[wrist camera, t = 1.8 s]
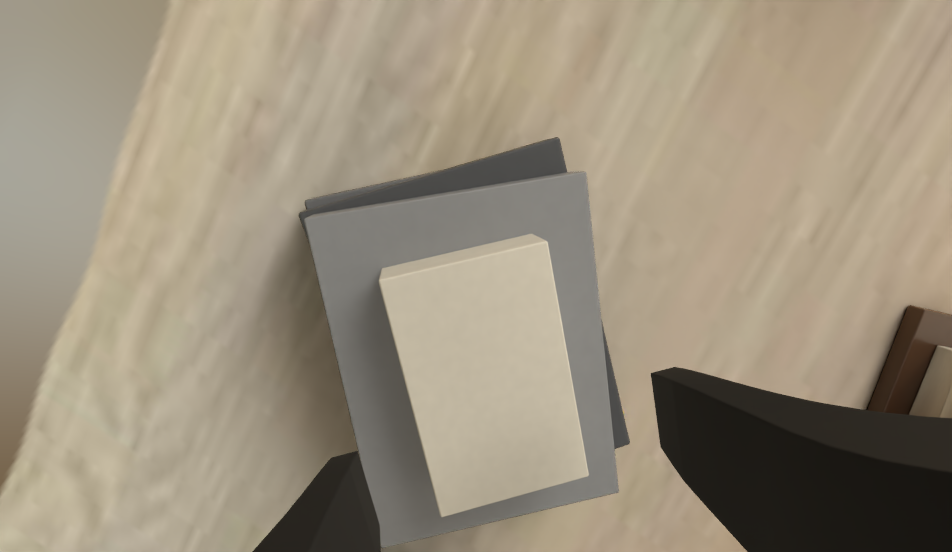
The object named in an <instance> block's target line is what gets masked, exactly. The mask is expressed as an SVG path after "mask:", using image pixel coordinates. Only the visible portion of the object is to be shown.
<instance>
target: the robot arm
mask: <svg viewBox="0 0 952 552" xmlns="http://www.w3.org/2000/svg"><path fill="white" fill-rule="evenodd" d="M651 378H652V386H653V393H654V400H655V408H656V415H657V423H658V430H659V438H660V445H661V448H662V450H663V451H664V453H665V454H666V456H667V457H668V459H669V460H670V462H671V463H672V465H673V466H674V468H675V469H676V470H677V472H678V473H679V475H680V476H681V477H682V479H683V480H684V482H685V483H686V484H687V485H688V486H689V487H690V488H691V490H692V491H693V492H694V493H695V494H696V495H697V496H698V497H699V499H700V500H701V501H702V502H703V503H704V504H705V505H706V506H707V508H708V509H709V510H710V511H711V512H712V513H713V514H714V515H715V516H716V517H717V519H718V520H719V521H720V522H721V523H722V524H723V525H724V526H725V527H726V528H727V530H728V531H729V532H730V533H731V534H732V535H733V536H734V537H735V538H736V539H737V541H738V542H739V543H740V544H741V545H742V546H743V547H744V548H745V549H746V550H747V552H952V418H940V417H925V416H915V415H905V414H894V413H884V412H876V411H868V410H861V409H855V408H848V407H842V406H836V405H830V404H824V403H819V402H814V401H809V400H804V399H800V398H795V397H791V396H786V395H782V394H777V393H773V392H769V391H765V390H762V389H758V388H754V387H750V386H747V385H743V384H739V383H736V382H732V381H728V380H725V379H721V378H718V377H714V376H711V375H707V374H703V373H699V372H696V371H692V370H687V369H683V368H677V367H673V368H669V369H665V370H662V371H658V372H654V373H651ZM253 552H381V546H380V524H379V521H378V517H377V514H376V511H375V507H374V504H373V501H372V497H371V494H370V491H369V487H368V484H367V481H366V477H365V474H364V471H363V467H362V464H361V461H360V457H359V454H358V451H355V452H352V453H348V454H344V455H340V456H337V457H333V458H331V459H330V460H329V461H328V462H327V463H326V464H325V466H324V467H323V468H322V469H321V471H320V472H319V473H318V474H317V476H316V477H315V478H314V479H313V481H312V482H311V483H310V485H309V486H308V487H307V488H306V490H305V491H304V492H303V493H302V495H301V496H300V497H299V498H298V500H297V501H296V502H295V503H294V505H293V506H292V507H291V508H290V510H289V511H288V512H287V513H286V514H285V516H284V517H283V518H282V519H281V520H280V521H279V522H278V524H277V525H276V526H275V527H274V528H273V529H272V530H271V531H270V533H269V534H268V535H267V536H266V537H265V538H264V539H263V541H262V542H261V543H260V544H259V545H258V546H257V547H256V548H255V550H254V551H253Z"/></svg>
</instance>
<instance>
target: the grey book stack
mask: <svg viewBox="0 0 952 552" xmlns="http://www.w3.org/2000/svg"><path fill="white" fill-rule="evenodd" d="M305 206H306V209H307V210H305V211H303V212H300V213H299V218H300V220H301V223H302V226H303V229H304V231H305V234H306V237H307V239H308V242H309V245H310V248H311V252H312V256H313V260H314V265H315V269H316V273H317V277H318V282H319V286H320V290H321V294H322V298H323V303H324V307H325V311H326V315H327V320H328V324H329V328H330V332H331V337H332V341H333V345H334V349H335V354H336V358H337V362H338V366H339V371H340V375H341V379H342V383H343V388H344V392H345V396H346V400H347V405H348V409H349V413H350V417H351V422H352V426H353V430H354V434H355V438H356V443H357V447H358V451H359V455H360V460H361V464H362V467H363V471H364V474H365V477H366V481H367V484H368V487H369V491H370V494H371V497H372V501H373V504H374V507H375V511H376V514H377V517H378V521H379V524H380V545H381V548H385V547H389V546H394V545H398V544H402V543H406V542H411V541H415V540H419V539H423V538H428V537H432V536H436V535H440V534H444V533H449V532H453V531H457V530H461V529H466V528H470V527H474V526H478V525H483V524H487V523H491V522H495V521H500V520H504V519H508V518H512V517H517V516H521V515H525V514H529V513H533V512H538V511H542V510H546V509H550V508H555V507H559V506H563V505H567V504H572V503H576V502H580V501H584V500H589V499H593V498H597V497H601V496H605V495H610V494H614V493H618V492H619V488H618V479H617V469H616V459H615V449H616V448H619V447H622V446H625V445H628V444H629V443H630V441H629V436H628V432H627V428H626V424H625V419H624V415H623V411H622V406H621V402H620V398H619V393H618V389H617V385H616V380H615V376H614V372H613V368H612V363H611V359H610V355H609V350H608V346H607V342H606V337H605V333H604V329H603V324H602V320H601V312H600V303H599V293H598V283H597V273H596V263H595V254H594V244H593V234H592V224H591V214H590V205H589V195H588V185H587V175H586V172H567V169H566V165H565V161H564V156H563V152H562V148H561V143H560V139H559V138H557V137H556V138H551V139H547V140H543V141H540V142H537V143H533V144H530V145H526V146H523V147H520V148H516V149H513V150H509V151H506V152H503V153H499V154H496V155H492V156H489V157H485V158H482V159H479V160H475V161H472V162H468V163H465V164H462V165H458V166H455V167H451V168H448V169H444V170H441V171H436V172H431V173H427V174H422V175H418V176H413V177H408V178H404V179H399V180H395V181H390V182H385V183H381V184H376V185H371V186H367V187H362V188H358V189H353V190H348V191H344V192H339V193H334V194H330V195H325V196H321V197H316V198H312V199H308V200H306V201H305ZM528 234H534V235H536V236H538V237H540V238H542V239H544V240H546V241H547V242H548V247H549V253H550V258H551V264H552V270H553V275H554V281H555V287H556V292H557V298H558V304H559V309H560V315H561V321H562V326H563V332H564V337H565V343H566V349H567V354H568V360H569V366H570V371H571V377H572V383H573V388H574V394H575V400H576V405H577V411H578V417H579V422H580V428H581V434H582V439H583V445H584V450H585V456H586V462H587V467H588V473H589V475H588V476H587V477H584V478H580V479H577V480H573V481H570V482H566V483H563V484H559V485H555V486H552V487H548V488H545V489H541V490H538V491H534V492H530V493H527V494H523V495H520V496H516V497H513V498H509V499H505V500H502V501H498V502H495V503H491V504H488V505H484V506H481V507H477V508H473V509H470V510H466V511H463V512H459V513H456V514H452V515H448V516H445V517H441V516H440V513H439V509H438V505H437V501H436V498H435V494H434V490H433V486H432V482H431V479H430V475H429V471H428V467H427V464H426V460H425V456H424V452H423V448H422V445H421V441H420V437H419V433H418V429H417V426H416V422H415V418H414V414H413V411H412V407H411V403H410V399H409V395H408V392H407V388H406V384H405V380H404V376H403V373H402V369H401V365H400V361H399V358H398V354H397V350H396V346H395V342H394V339H393V335H392V331H391V327H390V324H389V320H388V316H387V312H386V308H385V305H384V301H383V297H382V293H381V289H380V286H379V278H380V274H381V270H382V268H385V267H390V266H394V265H398V264H403V263H407V262H411V261H416V260H420V259H424V258H428V257H433V256H437V255H441V254H446V253H450V252H454V251H459V250H463V249H467V248H472V247H476V246H480V245H484V244H489V243H493V242H497V241H502V240H506V239H510V238H515V237H519V236H523V235H528Z"/></svg>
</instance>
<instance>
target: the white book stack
mask: <svg viewBox="0 0 952 552" xmlns="http://www.w3.org/2000/svg"><path fill="white" fill-rule="evenodd" d="M867 410H868V411H876V412H884V413H894V414H905V415H915V416H925V417H940V418H952V315H951V314H947V313H942V312H938V311H933V310H929V309H924V308H920V307H916V306H911V305H910V306H908V308H907V310H906V313H905V315H904V318H903V321H902V323H901V326H900V328H899V331H898V333H897V336H896V338H895V341H894V343H893V346H892V348H891V351H890V353H889V356H888V358H887V361H886V364H885V366H884V369H883V371H882V374H881V376H880V379H879V381H878V384H877V386H876V389H875V391H874V394H873V396H872V399H871V401H870V404H869V407H868V409H867Z"/></svg>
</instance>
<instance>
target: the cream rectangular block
mask: <svg viewBox="0 0 952 552" xmlns="http://www.w3.org/2000/svg"><path fill="white" fill-rule="evenodd" d="M379 286H380V289H381V293H382V297H383V301H384V305H385V308H386V312H387V316H388V320H389V324H390V327H391V331H392V335H393V339H394V342H395V346H396V350H397V354H398V358H399V361H400V365H401V369H402V373H403V376H404V380H405V384H406V388H407V392H408V395H409V399H410V403H411V407H412V411H413V414H414V418H415V422H416V426H417V429H418V433H419V437H420V441H421V445H422V448H423V452H424V456H425V460H426V464H427V467H428V471H429V475H430V479H431V482H432V486H433V490H434V494H435V498H436V501H437V505H438V509H439V513H440V516H441V517H445V516H448V515H452V514H456V513H459V512H463V511H466V510H470V509H473V508H477V507H481V506H484V505H488V504H491V503H495V502H498V501H502V500H505V499H509V498H513V497H516V496H520V495H523V494H527V493H530V492H534V491H538V490H541V489H545V488H548V487H552V486H555V485H559V484H563V483H566V482H570V481H573V480H577V479H580V478H584V477H587V476H588V475H589V473H588V467H587V462H586V456H585V450H584V445H583V439H582V434H581V428H580V422H579V417H578V411H577V405H576V400H575V394H574V388H573V383H572V377H571V371H570V366H569V360H568V354H567V349H566V343H565V337H564V332H563V326H562V321H561V315H560V309H559V304H558V298H557V292H556V287H555V281H554V275H553V270H552V264H551V258H550V253H549V247H548V242H547V241H546V240H544V239H542V238H540V237H538V236H536V235H534V234H528V235H523V236H519V237H515V238H510V239H506V240H502V241H497V242H493V243H489V244H484V245H480V246H476V247H472V248H467V249H463V250H459V251H454V252H450V253H446V254H441V255H437V256H433V257H428V258H424V259H420V260H416V261H411V262H407V263H403V264H398V265H394V266H390V267H385V268H382V270H381V274H380V278H379Z"/></svg>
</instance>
